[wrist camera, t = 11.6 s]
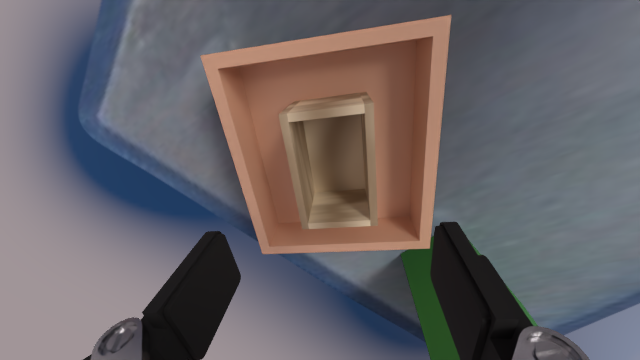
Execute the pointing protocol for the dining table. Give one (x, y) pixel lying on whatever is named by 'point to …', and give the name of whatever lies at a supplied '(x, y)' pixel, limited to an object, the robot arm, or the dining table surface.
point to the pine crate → (332, 160)
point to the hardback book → (432, 304)
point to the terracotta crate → (332, 80)
